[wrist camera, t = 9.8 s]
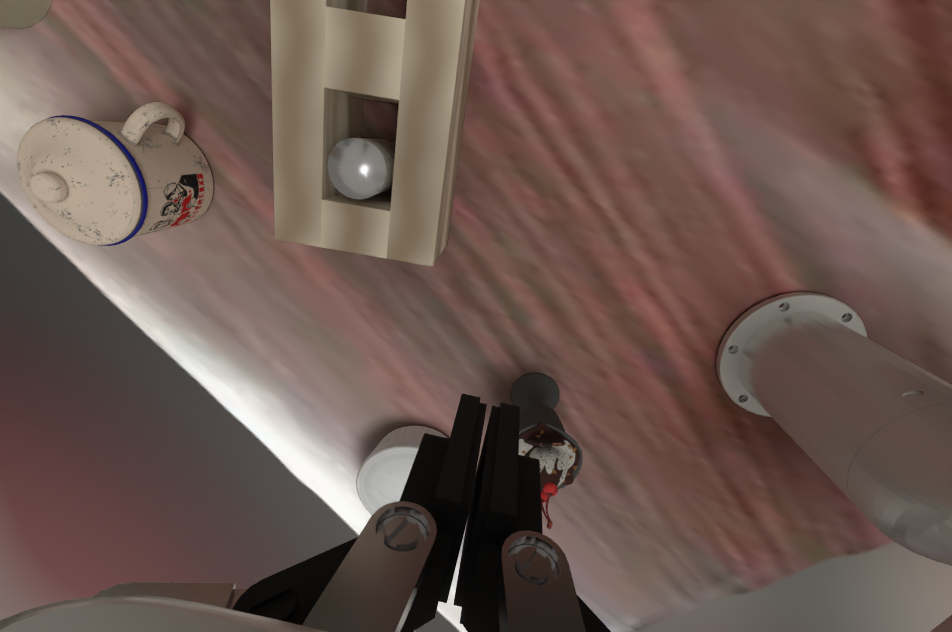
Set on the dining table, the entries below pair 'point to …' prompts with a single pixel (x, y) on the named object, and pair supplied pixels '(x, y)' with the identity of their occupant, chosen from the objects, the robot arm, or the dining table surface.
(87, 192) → the teacup with lid
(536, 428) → the sundae
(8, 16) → the reusable coffee cup
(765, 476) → the dining table surface
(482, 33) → the dining table surface
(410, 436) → the ramekin
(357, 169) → the steel peg
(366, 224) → the birch block
